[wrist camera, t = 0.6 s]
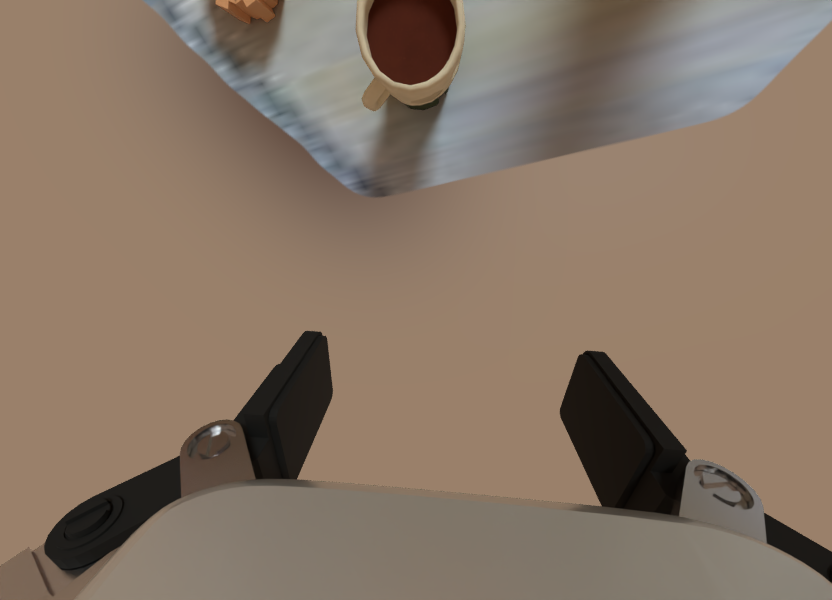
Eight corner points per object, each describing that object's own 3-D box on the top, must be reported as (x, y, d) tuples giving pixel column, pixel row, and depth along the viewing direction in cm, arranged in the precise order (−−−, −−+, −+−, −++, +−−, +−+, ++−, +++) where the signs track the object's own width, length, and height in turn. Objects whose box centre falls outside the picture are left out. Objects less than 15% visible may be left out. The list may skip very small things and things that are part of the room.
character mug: (409, 145, 33) (394, 141, 22) (360, 92, 32) (315, 57, 20) (485, 55, 29) (515, -9, 18) (434, -11, 28) (431, -130, 16)
